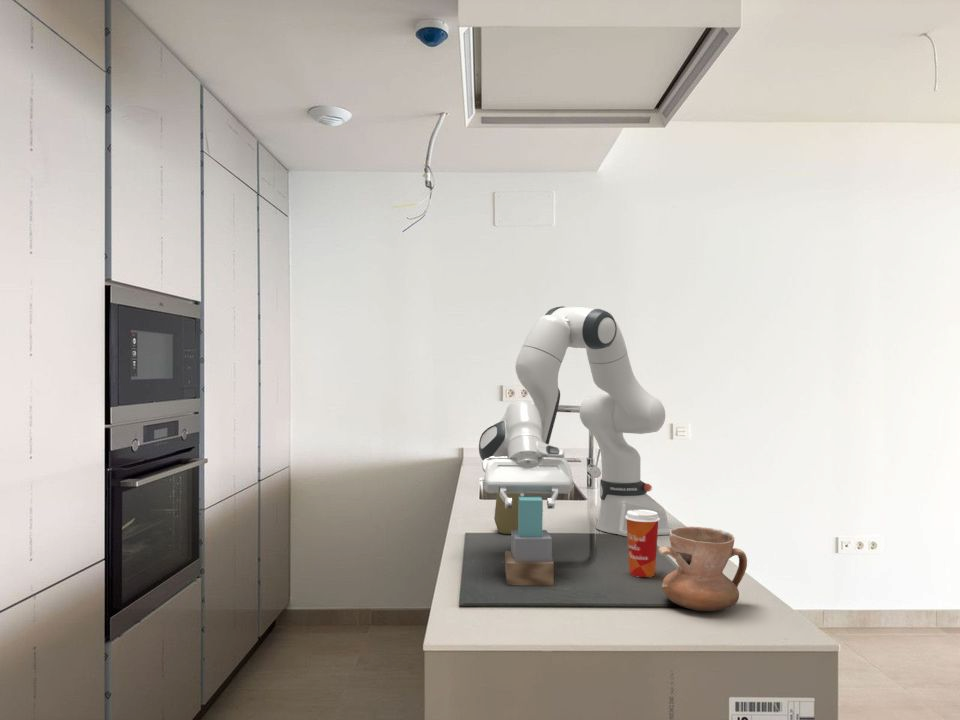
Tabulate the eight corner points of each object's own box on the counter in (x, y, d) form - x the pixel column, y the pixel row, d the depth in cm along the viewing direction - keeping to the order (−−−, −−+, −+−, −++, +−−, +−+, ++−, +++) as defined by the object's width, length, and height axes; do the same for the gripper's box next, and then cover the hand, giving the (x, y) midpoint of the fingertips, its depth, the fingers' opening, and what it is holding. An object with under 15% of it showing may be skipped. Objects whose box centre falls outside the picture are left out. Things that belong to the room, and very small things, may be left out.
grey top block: (546, 552, 157) (546, 530, 157) (551, 561, 149) (552, 538, 149) (511, 552, 156) (511, 530, 156) (515, 562, 148) (515, 538, 148)
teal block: (540, 531, 155) (540, 496, 155) (542, 537, 150) (542, 500, 150) (518, 531, 155) (518, 496, 155) (519, 536, 150) (519, 500, 150)
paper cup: (618, 571, 158) (618, 510, 158) (645, 567, 161) (645, 507, 161) (638, 581, 151) (639, 517, 151) (667, 577, 154) (667, 514, 154)
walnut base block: (548, 573, 158) (548, 551, 158) (553, 586, 148) (553, 563, 148) (505, 572, 157) (505, 550, 158) (507, 586, 147) (507, 563, 148)
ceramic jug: (669, 618, 128) (671, 542, 129) (646, 592, 143) (648, 523, 143) (763, 619, 129) (765, 543, 129) (731, 593, 144) (733, 525, 144)
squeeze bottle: (507, 537, 190) (508, 471, 190) (488, 531, 196) (488, 468, 196) (528, 532, 195) (528, 469, 195) (508, 527, 201) (509, 465, 201)
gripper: (482, 448, 160) (483, 498, 150) (570, 448, 160) (576, 499, 150) (481, 465, 164) (482, 514, 154) (567, 465, 164) (573, 515, 154)
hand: (529, 507), depth 152 cm, fingers open, 8 cm apart
